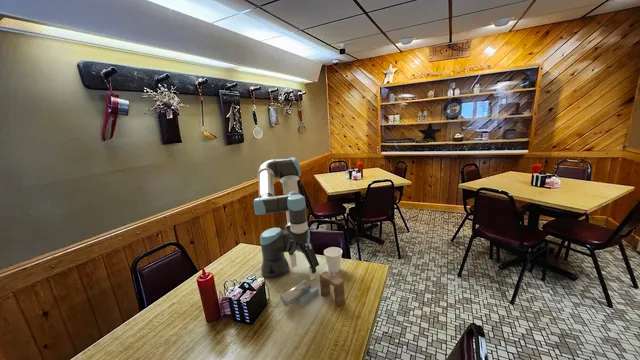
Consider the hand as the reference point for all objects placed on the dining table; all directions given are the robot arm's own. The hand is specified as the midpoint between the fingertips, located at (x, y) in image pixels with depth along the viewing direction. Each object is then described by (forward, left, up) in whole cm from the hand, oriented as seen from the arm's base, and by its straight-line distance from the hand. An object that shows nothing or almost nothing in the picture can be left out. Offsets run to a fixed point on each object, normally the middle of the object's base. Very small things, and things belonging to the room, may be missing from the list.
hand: (303, 272), depth 116 cm
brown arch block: (+12, +6, -12) cm, 18 cm away
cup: (-3, +23, -12) cm, 26 cm away
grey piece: (+1, -6, -7) cm, 9 cm away
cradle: (+1, -1, -12) cm, 12 cm away
